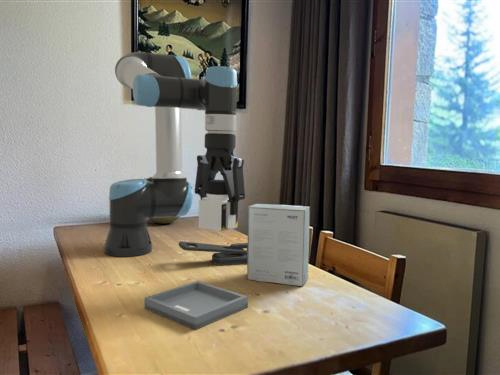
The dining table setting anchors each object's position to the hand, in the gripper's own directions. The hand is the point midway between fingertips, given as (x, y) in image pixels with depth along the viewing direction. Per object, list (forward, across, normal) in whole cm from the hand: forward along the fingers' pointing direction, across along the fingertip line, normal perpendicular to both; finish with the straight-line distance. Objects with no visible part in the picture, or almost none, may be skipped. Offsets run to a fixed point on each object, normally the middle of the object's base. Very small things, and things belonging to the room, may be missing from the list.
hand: (218, 225), depth 110 cm
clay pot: (+17, -74, +45) cm, 89 cm away
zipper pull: (+17, -15, +17) cm, 28 cm away
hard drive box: (+16, +8, +16) cm, 24 cm away
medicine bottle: (+1, 0, 0) cm, 1 cm away
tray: (+16, +6, -13) cm, 22 cm away
